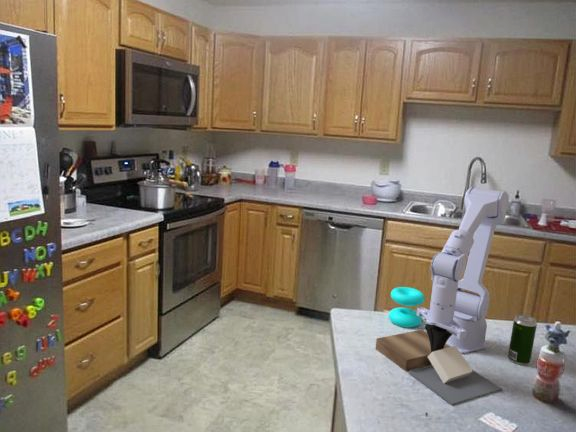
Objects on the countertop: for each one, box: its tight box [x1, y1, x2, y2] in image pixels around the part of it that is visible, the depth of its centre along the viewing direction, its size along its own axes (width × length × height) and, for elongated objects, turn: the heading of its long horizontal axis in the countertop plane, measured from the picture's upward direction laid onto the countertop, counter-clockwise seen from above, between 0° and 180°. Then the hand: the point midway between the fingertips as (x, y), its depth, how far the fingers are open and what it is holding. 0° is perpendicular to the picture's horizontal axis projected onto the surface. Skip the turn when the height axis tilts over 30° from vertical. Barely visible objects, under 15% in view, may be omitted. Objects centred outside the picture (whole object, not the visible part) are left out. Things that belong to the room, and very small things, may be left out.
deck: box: [375, 329, 451, 372], centre depth 121 cm, size 16×12×3 cm
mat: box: [408, 365, 503, 406], centre depth 109 cm, size 16×14×1 cm
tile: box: [428, 346, 474, 383], centre depth 111 cm, size 8×7×2 cm
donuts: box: [388, 286, 425, 328], centre depth 141 cm, size 10×10×10 cm
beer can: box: [507, 314, 538, 366], centre depth 120 cm, size 5×5×12 cm
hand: (436, 353), depth 114 cm, fingers closed
